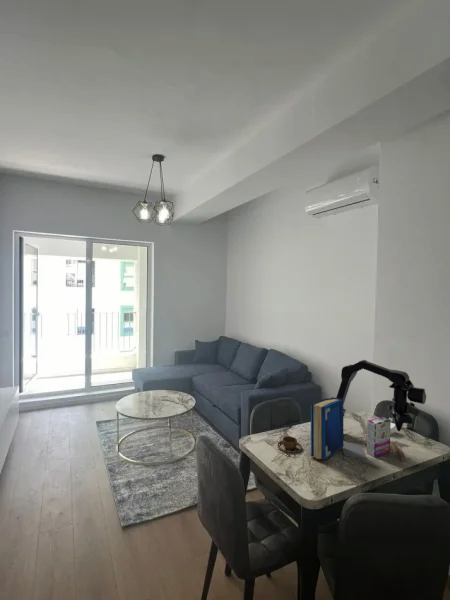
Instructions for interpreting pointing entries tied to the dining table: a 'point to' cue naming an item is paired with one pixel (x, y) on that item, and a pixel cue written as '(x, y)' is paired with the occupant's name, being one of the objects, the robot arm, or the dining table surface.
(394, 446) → the back rail
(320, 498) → the dining table surface
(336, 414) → the book
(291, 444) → the brown cup and saucer
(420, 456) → the dining table surface
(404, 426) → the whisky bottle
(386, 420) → the candy bar box
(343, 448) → the mat
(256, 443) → the dining table surface
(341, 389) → the robot arm
